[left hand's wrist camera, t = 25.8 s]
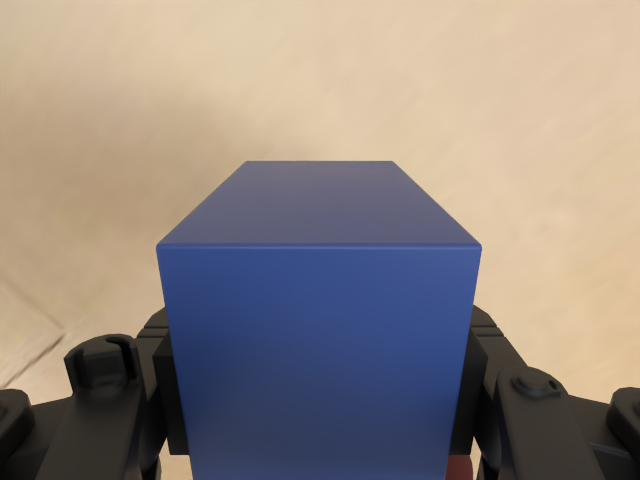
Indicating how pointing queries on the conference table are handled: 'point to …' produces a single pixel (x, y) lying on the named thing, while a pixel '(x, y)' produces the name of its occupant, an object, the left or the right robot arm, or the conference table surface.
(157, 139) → the conference table surface
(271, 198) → the brick
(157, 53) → the conference table surface
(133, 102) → the conference table surface
